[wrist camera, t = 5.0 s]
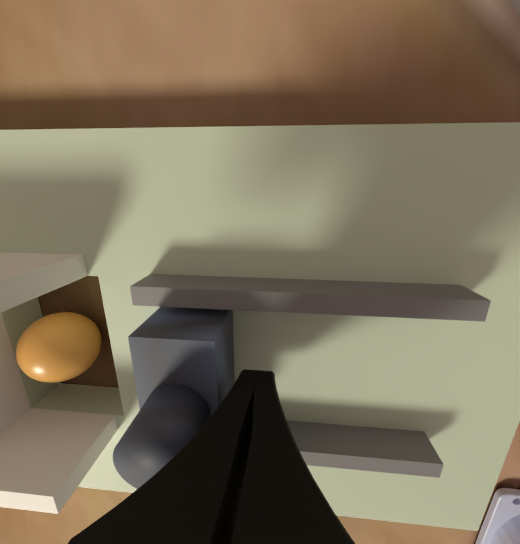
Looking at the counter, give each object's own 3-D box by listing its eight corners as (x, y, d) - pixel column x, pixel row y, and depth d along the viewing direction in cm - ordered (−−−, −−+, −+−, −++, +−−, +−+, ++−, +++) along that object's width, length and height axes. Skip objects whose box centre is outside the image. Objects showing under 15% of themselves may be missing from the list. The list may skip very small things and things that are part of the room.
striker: (232, 304, 11) (194, 384, 7) (235, 413, 13) (207, 538, 8) (166, 301, 12) (84, 376, 7) (178, 408, 13) (119, 528, 9)
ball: (107, 312, 13) (17, 342, 11) (117, 370, 14) (37, 411, 12) (80, 296, 15) (-2, 318, 13) (91, 348, 16) (17, 378, 14)
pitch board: (569, 133, 10) (711, 104, 7) (454, 491, 16) (501, 571, 13) (-60, 140, 13) (-188, 121, 9) (39, 449, 19) (-17, 508, 15)
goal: (83, 254, 12) (-16, 285, 8) (118, 429, 14) (58, 514, 11) (-38, 250, 12) (-187, 277, 8) (19, 420, 15) (-72, 498, 11)
